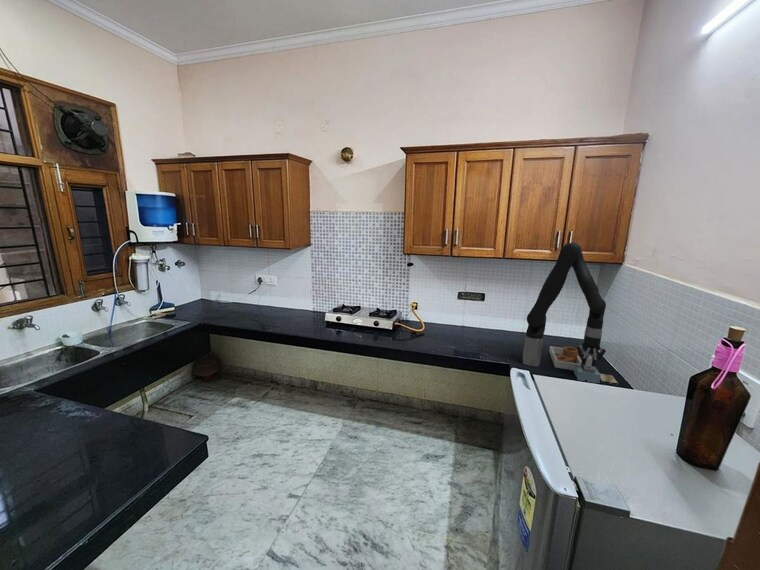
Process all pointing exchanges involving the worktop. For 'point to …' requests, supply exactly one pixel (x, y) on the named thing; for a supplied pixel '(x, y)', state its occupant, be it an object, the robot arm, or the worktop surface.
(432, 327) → the worktop surface
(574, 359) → the bracket
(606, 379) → the rest board
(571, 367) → the frame
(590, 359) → the steel pin
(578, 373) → the vise block
